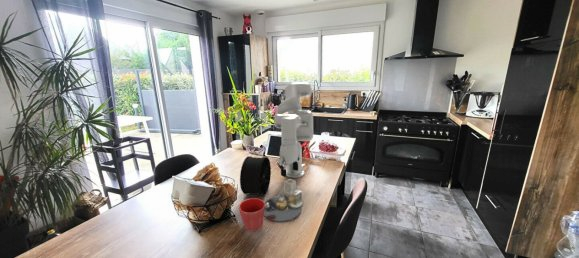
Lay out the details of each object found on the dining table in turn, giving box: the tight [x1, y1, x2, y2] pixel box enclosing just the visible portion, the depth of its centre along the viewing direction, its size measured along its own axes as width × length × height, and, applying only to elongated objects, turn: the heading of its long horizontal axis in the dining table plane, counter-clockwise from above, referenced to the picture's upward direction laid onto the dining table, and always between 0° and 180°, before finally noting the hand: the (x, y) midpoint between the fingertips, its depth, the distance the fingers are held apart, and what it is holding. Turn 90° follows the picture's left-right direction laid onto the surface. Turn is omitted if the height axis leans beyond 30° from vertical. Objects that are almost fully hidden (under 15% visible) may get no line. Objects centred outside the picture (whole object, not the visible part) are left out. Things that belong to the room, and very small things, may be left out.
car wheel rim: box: [239, 155, 272, 197], centre depth 121 cm, size 20×10×20 cm, turn 168°
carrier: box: [264, 188, 304, 223], centre depth 107 cm, size 19×19×8 cm
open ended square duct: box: [283, 178, 297, 197], centre depth 121 cm, size 7×7×7 cm
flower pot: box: [238, 197, 265, 231], centre depth 96 cm, size 11×11×10 cm
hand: (289, 173), depth 118 cm, fingers open, 9 cm apart
